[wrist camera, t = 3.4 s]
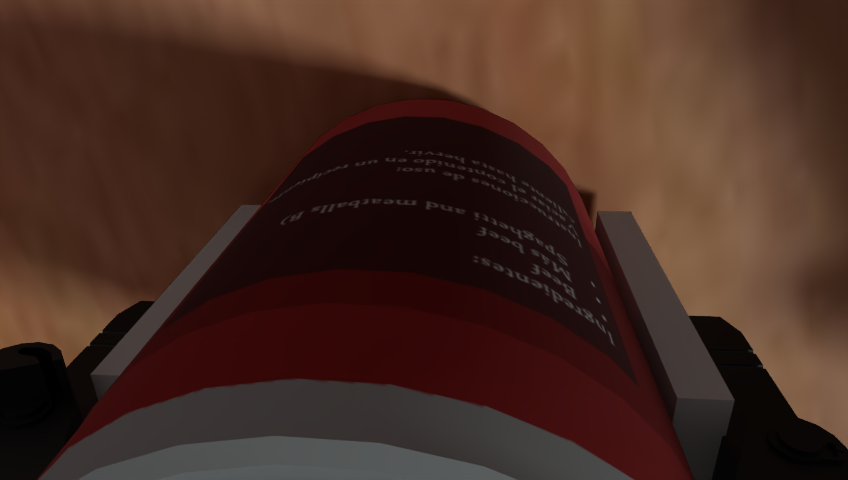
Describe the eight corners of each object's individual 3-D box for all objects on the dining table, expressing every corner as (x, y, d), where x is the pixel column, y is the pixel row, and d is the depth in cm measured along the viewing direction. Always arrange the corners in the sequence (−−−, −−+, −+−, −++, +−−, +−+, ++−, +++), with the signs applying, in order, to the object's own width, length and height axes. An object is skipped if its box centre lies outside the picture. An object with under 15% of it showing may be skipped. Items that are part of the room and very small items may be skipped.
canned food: (395, 413, 18) (296, 971, 8) (218, 192, 16) (-226, 625, 6) (643, 301, 16) (907, 884, 6) (486, 21, 13) (503, 254, 4)
